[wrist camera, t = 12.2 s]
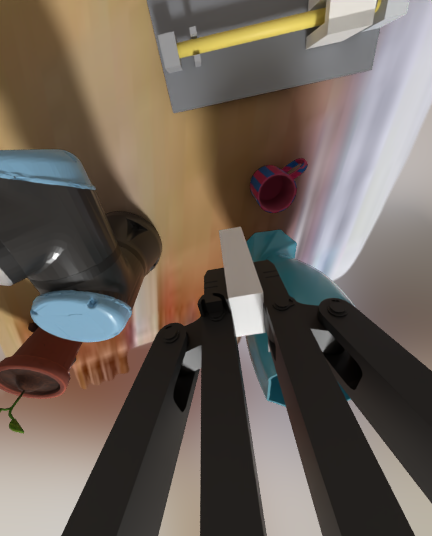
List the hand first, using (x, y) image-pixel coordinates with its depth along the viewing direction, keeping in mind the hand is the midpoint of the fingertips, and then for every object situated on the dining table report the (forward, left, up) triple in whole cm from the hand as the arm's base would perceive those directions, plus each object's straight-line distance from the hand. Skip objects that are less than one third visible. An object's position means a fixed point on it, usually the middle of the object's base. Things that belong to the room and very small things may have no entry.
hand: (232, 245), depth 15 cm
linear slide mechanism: (+10, +15, -29) cm, 34 cm away
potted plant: (-54, -38, -30) cm, 72 cm away
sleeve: (+17, +15, -28) cm, 36 cm away
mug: (+11, -4, -30) cm, 32 cm away
